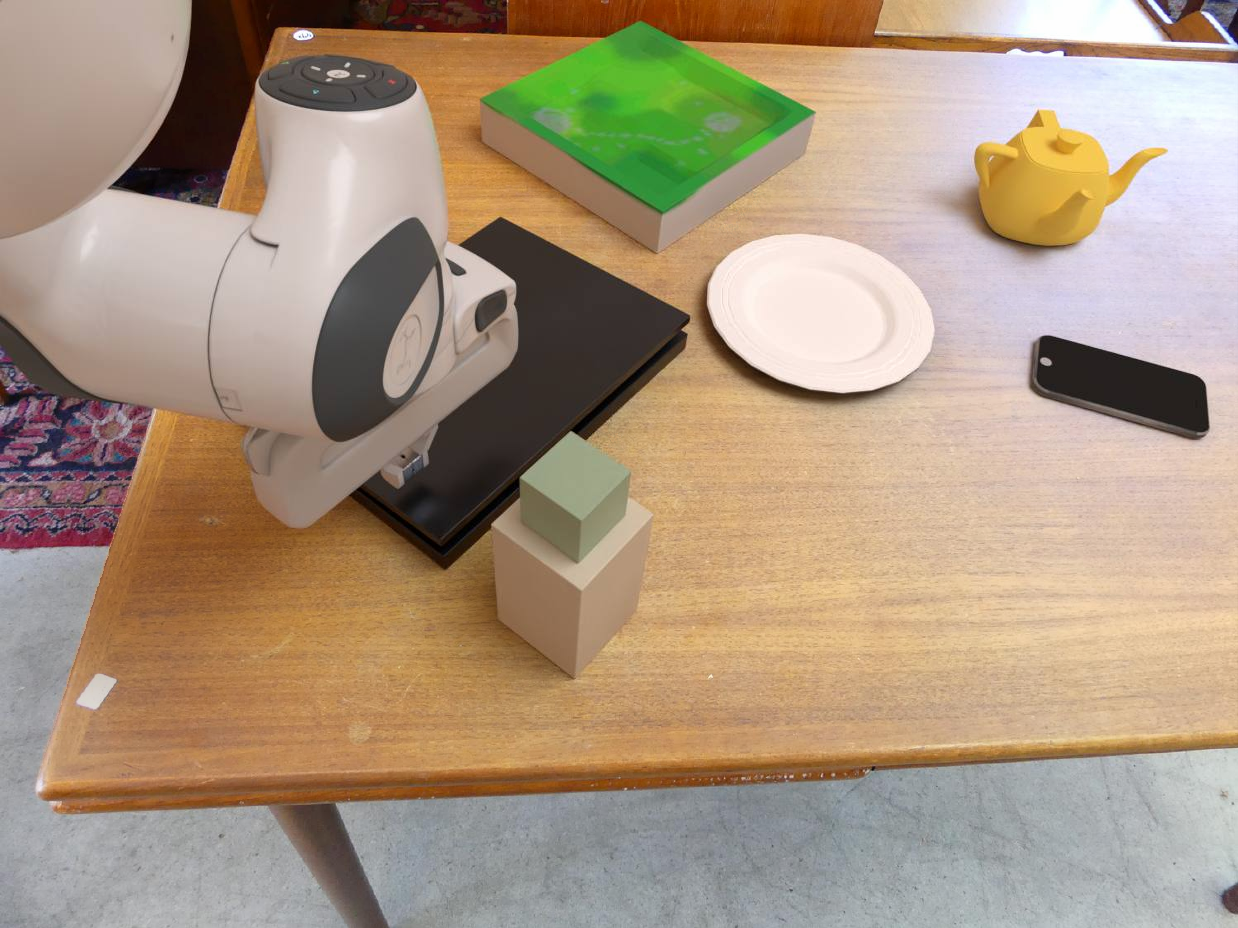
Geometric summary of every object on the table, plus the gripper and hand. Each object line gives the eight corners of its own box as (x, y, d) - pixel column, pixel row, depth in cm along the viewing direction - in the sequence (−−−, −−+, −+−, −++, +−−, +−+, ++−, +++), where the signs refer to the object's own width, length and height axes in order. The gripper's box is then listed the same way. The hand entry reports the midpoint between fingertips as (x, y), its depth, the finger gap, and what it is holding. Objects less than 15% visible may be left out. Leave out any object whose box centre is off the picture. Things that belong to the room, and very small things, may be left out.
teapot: (1047, 279, 91) (1095, 195, 83) (940, 209, 97) (976, 124, 89) (1120, 228, 97) (1172, 145, 89) (1015, 165, 103) (1055, 82, 95)
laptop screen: (689, 323, 79) (690, 315, 78) (441, 547, 64) (440, 540, 63) (501, 224, 87) (500, 216, 87) (240, 401, 72) (237, 393, 71)
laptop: (685, 348, 81) (688, 332, 80) (445, 570, 66) (443, 556, 64) (501, 239, 89) (501, 223, 87) (246, 416, 73) (240, 400, 72)
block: (578, 564, 53) (581, 520, 50) (520, 521, 55) (519, 477, 51) (625, 515, 55) (631, 470, 52) (568, 476, 57) (570, 430, 53)
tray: (637, 62, 110) (640, 21, 106) (805, 153, 101) (816, 112, 97) (482, 141, 98) (479, 98, 94) (657, 254, 89) (662, 211, 85)
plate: (659, 289, 86) (662, 274, 84) (827, 224, 94) (832, 209, 92) (800, 440, 76) (805, 425, 74) (975, 353, 84) (983, 338, 82)
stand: (574, 679, 62) (581, 590, 52) (497, 619, 64) (490, 523, 54) (637, 608, 65) (654, 513, 56) (562, 554, 67) (566, 454, 58)
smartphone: (1038, 330, 85) (1206, 376, 83) (1035, 336, 85) (1202, 381, 83) (1033, 387, 80) (1211, 437, 78) (1029, 393, 81) (1206, 443, 79)
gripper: (275, 461, 47) (322, 595, 58) (534, 270, 58) (533, 413, 69) (197, 401, 49) (256, 541, 60) (461, 227, 60) (471, 373, 71)
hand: (405, 472), depth 65 cm, fingers closed
